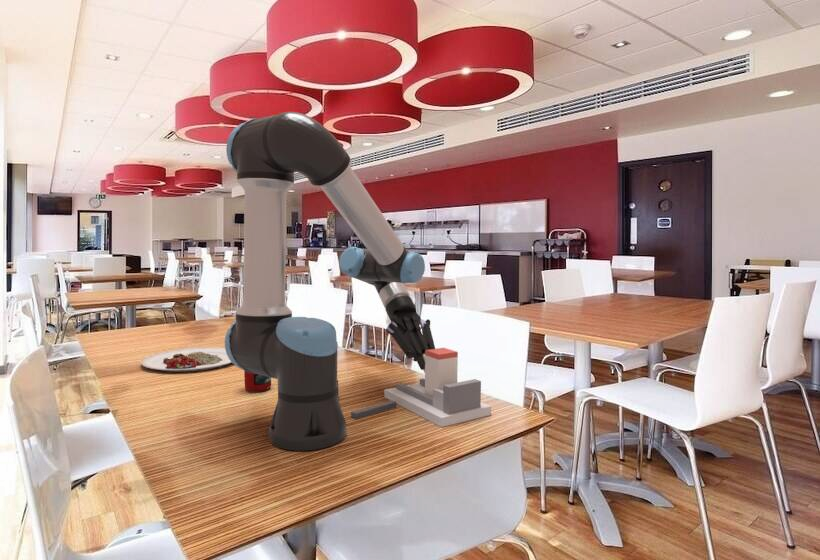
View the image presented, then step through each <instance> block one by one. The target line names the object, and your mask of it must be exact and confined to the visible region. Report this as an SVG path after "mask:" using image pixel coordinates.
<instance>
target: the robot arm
mask: <svg viewBox="0 0 820 560" xmlns="http://www.w3.org/2000/svg"><path fill="white" fill-rule="evenodd" d="M226 142H227V143H226V148H225V149H226V157H227V160H228V162H229V164H230V165H231V166H232V169H233V170H234V171H235V172H236V182H237V183H238V185H239V186H240V187H242V189H243V191H244V204H243V205H244V206H243V208H244V209H243V211H244V212H243V213H244V214H243V215H244V216H243V221H244V222H243V227H244V228H243V295H242V297H243V298H242V300H243V302H242V305H241V306H240V307H239V308H238V309H237V310H236V311H235V320H234V321H233V322H232V323H231V324H230V328H228V329H227V330H226V333H225V337H224V348H225V350H226V353H227V356H228V358H229V359H230V361H231V362H232V365H234V366H235V367H237V368H238V369H240V370H243V371H247V372H249V373H253V374H259V375H263V376H267V377H271V379H276V380H277V403H276V405H275V408H274V411H273V414H272V418H271V421H270V425H269V429H268V431H269V433H268V434H269V435H268V438H269V442H270V444H272V446H275V447H277V448H279V449H283V450H286V451H287V450H288V451H295V452H296V451H298V452H299V451H300V452H301V451H302V452H303V451H304V452H305V451H306V452H307V451H313V450H314V451H315V450H316V451H317V450H321V449H325V448H328V447H332V446H334V445H336V444H339V443H340V442H342V441H343V440H344V439H345V437H346V435H347V422H346V419H345V415H344V414H343V410H342V407H341V405H340V402H339V398H337V380H338V348H339V346H338V345H339V344H338V339H337V330H336V328H335V326H334V325H333V324H332V323H331V322H329V321H327V320H324V319H320V318H316V317H306V316H293V310H292V309H291V308H290V307H288V306H287V305H286V265H287V264H286V259H287V257H286V255H287V250H286V248H287V194H288V192H289V191H290V190H291V189H292V188H293V187H294V186H295V173H298V174H301V175H302V176H304V177H305V178H307V180H308V181H309V182H310V184H311V185H312V186H313V187H316V188H321V190H322V192H324V194H325V195H326V197H327V198H328V199H329V201H330V202H331V203H332V205H333V206H334V208H336V209H337V211H338V213H340V215H341V216H342V218H343V219H344V221H346V223H347V225H348V226H349V227H350V228H351V230H352V231H353V233H355V235H356V236H357V238H358V239H359V240H360V242H361V243H362V244H363V245H364V247H365V248H366V249H367V250H363V248H361V247H356V246H348V247H347V248H345V250H343V252H341V254H340V258H339V262H338V264H339V265H338V266H339V270H340V271H341V272H342V274H344V275H346V276H348V277H350V278H353V279H355V280H358V281H361V282H364V283H366V284H369V285H371V286H373V287H374V288H375V290H376V292H377V293H378V296H379V299H380V300H381V302H382V305H383V308H384V310H385V312H386V314H387V317H388V319H389V321H390V323H389V324H388V326H387V327H386V329H385V332H387V333H388V334H389V335H390V336H391V337H392V338H393V339H394V341H395V342H396V345H398V346H399V348H400V349H401V351H402V352H403V353H404V355H405V356H406V357H407V358H408V359H412V361H413V362H417V365H418V367H419V369H420V370H421V371H423V372H424V374H425V350H430V349H436V347H435V341H434V338H433V335H432V330H431V319H429V318H428V319H426V320H424V319H422V318H421V316H420V314H418V313H417V310H416V309H417V308H416V305H415V303H414V301H413V299H412V297H411V294H410V293H409V291H408V289H407V287H406V285H405V284H415V283H417V282H419V281H421V280H422V279H423V276H424V274H425V271H426V263H425V260H424V259H425V258H424V257H423V256H422V254H420V253H418V252H414V251H411V250H410V251H408V250H407V248H406V247H405V246H404V244H403V242H402V241H401V239H400V238H399V236H398V235H397V233H396V232H395V230H394V229H393V227H392V226H391V225H390V222H388V221H387V219H386V217H385V216H384V214H383V212H382V211H381V210H380V208H379V207H378V206H377V204H376V202H375V201H374V199H373V198H372V197H371V195H370V193H369V192H368V190H367V189H366V188H365V186H364V184H363V183H362V182H361V180H360V179H359V177H358V175H357V174H356V173H355V171H354V170H353V169H352V166H351V163H352V159H351V157H350V155H349V154H348V152H347V151H346V149H345V148H344V147H343V145H342V144H341V143H340V141H339V140H338V139H337V138H336V137H335V135H333V134H332V133H331V132H330V131H329V130H328V129H327V128H326V127H325V126H324V125H322V124H321V123H320V122H318V121H317V120H316V119H314V118H312V117H311V116H308V115H306V114H304V113H301V112H297V111H285V112H284V111H283V112H281V113H279V114H274V115H269V116H264V117H260V118H258V117H256V118H252V119H249V120H247V121H245V122H242V123H240V124H238V125H237V126H236V127H234V128H233V130H232V131H231V132H230V134H229V136H228V139H227V141H226Z"/></svg>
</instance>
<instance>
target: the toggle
mask: <svg viewBox="0 0 820 560" xmlns="http://www.w3.org/2000/svg"><path fill="white" fill-rule="evenodd" d="M458 353H459V352H458V351H456V350H453V349H450V348H446V347H439V348H438V347H437V348H435V349H430V350H425V373H424V379H425V394H426V395H429V396H431V397H433V389H436V388H438V389H440V390H442V391H443V385H447V384H452V383H457V382H458V366H459V365H458V362H459V361H458V358H459V356H458V355H459V354H458Z"/></svg>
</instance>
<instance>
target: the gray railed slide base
mask: <svg viewBox="0 0 820 560" xmlns="http://www.w3.org/2000/svg"><path fill="white" fill-rule="evenodd" d="M481 396H482V380H479V379H477V378H476V379H475V378H474V379H469V380H463V381H457V383H452V384H447V385H443V391H442V390H440V389H438V388H436V389H433V397H431V396H429V395H426V394H425V377H424V378H419V382H418V383H411V384H404V383H402V382H396V383H395V387H391V388H390V387H389V388H386V389H384V398H385V399H388V401H395V402H396V405H399V406H400V407H402V408H404V409H406V410H408V411H410V412H412V413H413V414H416V415H417V416H419V417H422V418H423V419H425V420H427V421H428V422H431V423H433V424H434V425H436V426H439V427H440V428H443V427H448V426H451V425H456V424H460V423H465V422H467V421H468V422H469V421H472V420H476V419H481V418H485V417H489V416H491V415H492V406H491V405H489V404H486V403H484V402H482V401H481V400H482V399H481V398H482V397H481Z"/></svg>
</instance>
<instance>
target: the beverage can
mask: <svg viewBox="0 0 820 560" xmlns="http://www.w3.org/2000/svg"><path fill="white" fill-rule="evenodd" d="M243 371H244V370H243ZM243 373H244V378H243V379H244V388H245V389H246V390H247V391H249V392H251V393H252V392H253V393H258V392H259V393H260V392H261V393H262V392H264V391H267V390H268V389H269V388H271V387H272V378H271V377H267V376H263V375H259V374H253V373H249V372H247V371H244V372H243Z"/></svg>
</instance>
